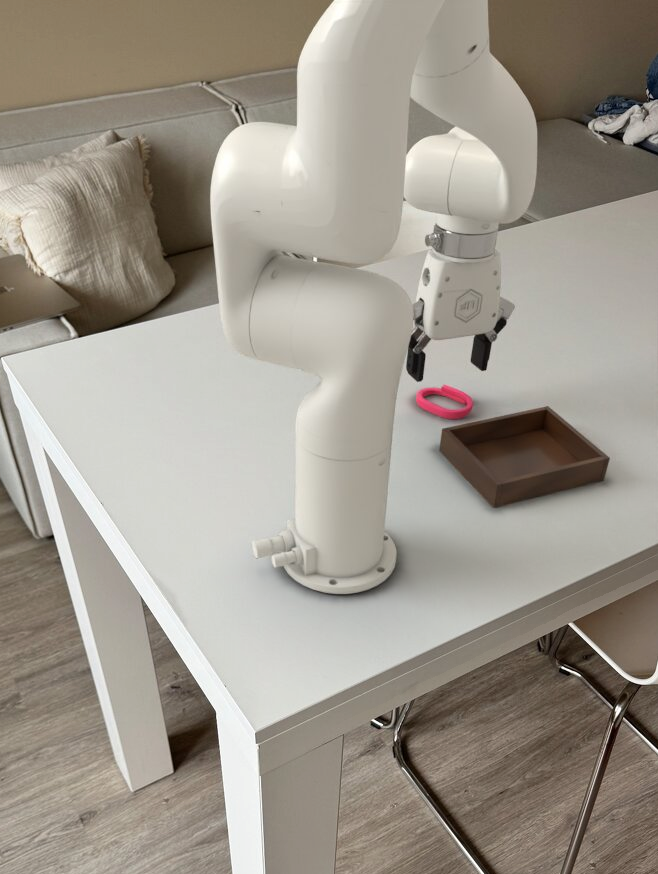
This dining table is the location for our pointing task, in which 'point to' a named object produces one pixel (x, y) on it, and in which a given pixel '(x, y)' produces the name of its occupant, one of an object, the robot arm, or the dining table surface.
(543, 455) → the walnut tray
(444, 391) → the fitness band
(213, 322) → the dining table surface
